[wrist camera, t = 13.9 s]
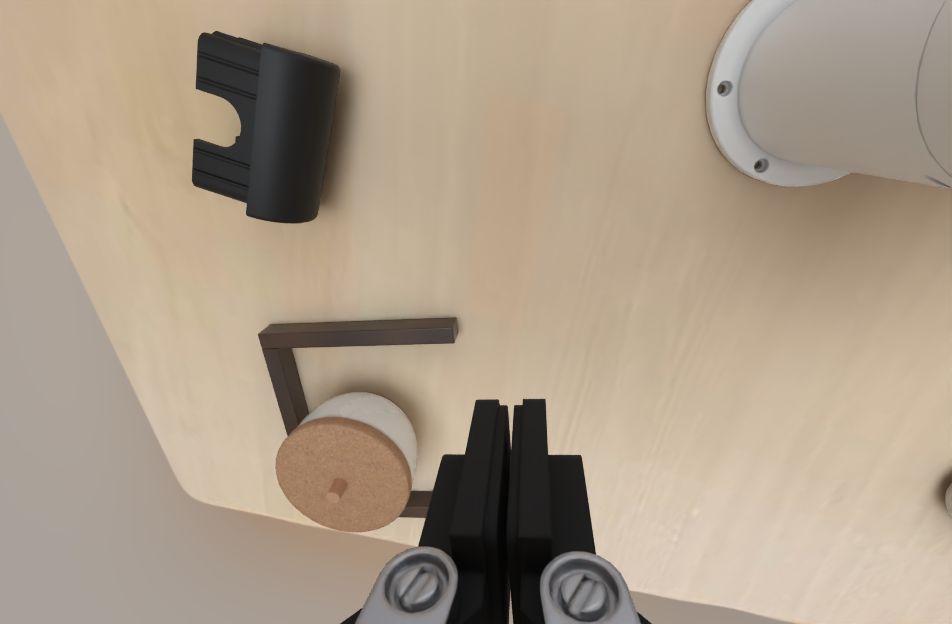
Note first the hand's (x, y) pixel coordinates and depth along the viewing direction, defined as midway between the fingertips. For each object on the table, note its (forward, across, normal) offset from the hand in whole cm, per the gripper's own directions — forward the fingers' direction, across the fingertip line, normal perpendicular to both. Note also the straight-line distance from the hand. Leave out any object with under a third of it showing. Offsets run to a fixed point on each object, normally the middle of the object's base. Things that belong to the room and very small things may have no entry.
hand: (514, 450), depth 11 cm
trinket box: (+25, +15, +17) cm, 34 cm away
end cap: (+25, +16, -8) cm, 31 cm away
